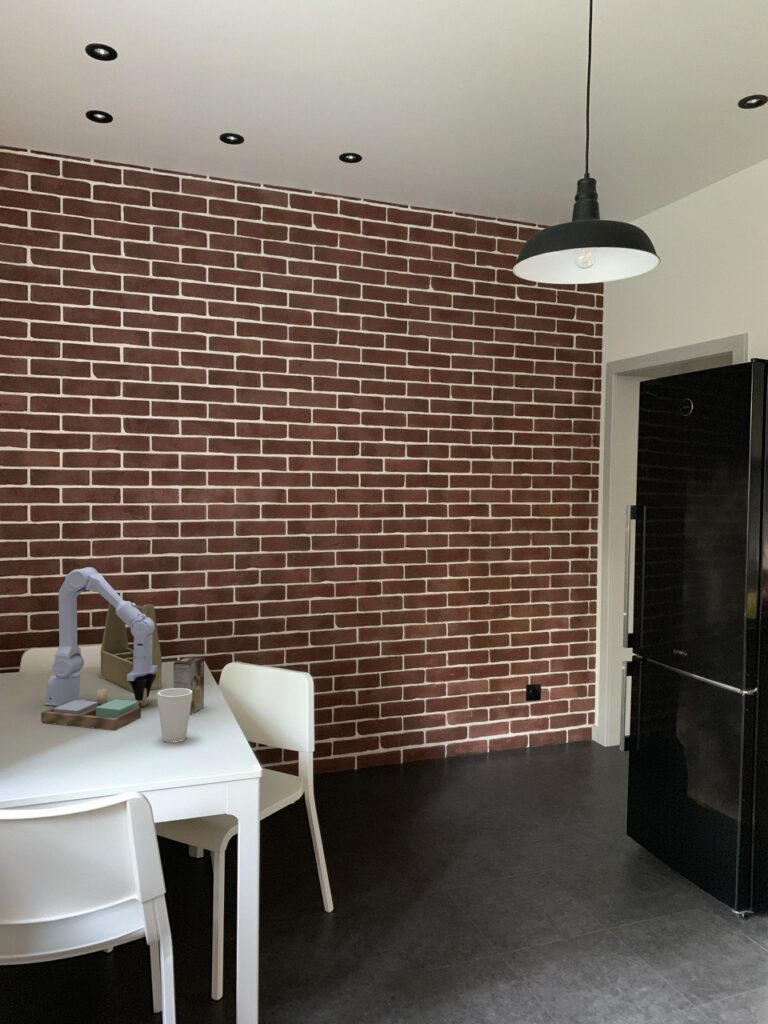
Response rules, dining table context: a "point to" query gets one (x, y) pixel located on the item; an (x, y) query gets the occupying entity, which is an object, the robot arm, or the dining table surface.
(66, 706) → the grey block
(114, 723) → the tray
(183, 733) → the foam cup
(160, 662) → the caddy
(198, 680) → the coffee box
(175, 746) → the dining table surface
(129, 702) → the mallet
